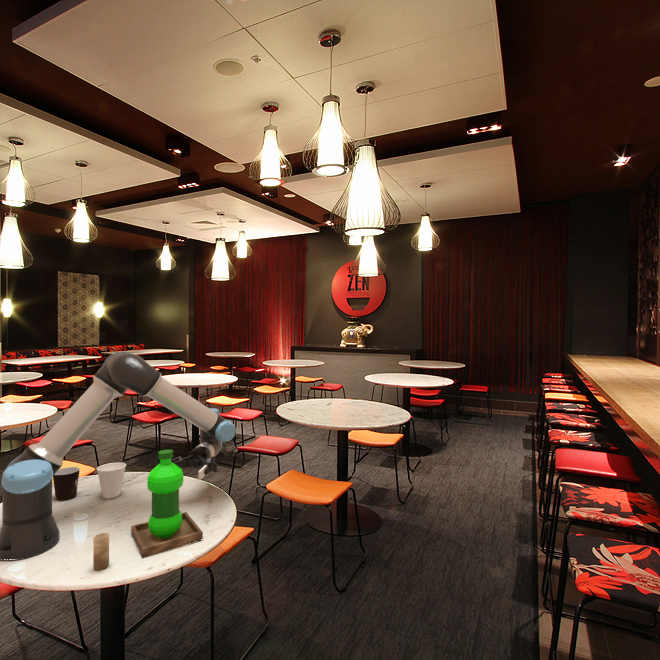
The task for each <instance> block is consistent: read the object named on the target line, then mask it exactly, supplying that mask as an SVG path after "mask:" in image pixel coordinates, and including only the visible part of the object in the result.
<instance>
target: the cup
mask: <svg viewBox="0 0 660 660" xmlns="http://www.w3.org/2000/svg"><path fill="white" fill-rule="evenodd" d="M126 467H127V463H125V462H111V463H110V462H109V463H106V464H102V465H100V466H97V467H96V471H97V474H98V481H99V485H100V490H101V491H100V492H101V495H102V498H104V499H106V500H107V499H110V500H111V499H115V498H117V497H119V496H120V495H121V494H122V488H123V484H124V483H123V482H124V478H125V472H126Z"/></svg>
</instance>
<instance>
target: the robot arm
mask: <svg viewBox="0 0 660 660" xmlns="http://www.w3.org/2000/svg"><path fill="white" fill-rule="evenodd" d="M92 377H93V382H92V384H91V385H89V387H88V388H87V389H86V390H85V392H84V393H83V394H81V396H80V397H79V398H78V399H77V400H76V402H75V403H73V405H71V407H70V408H69V409H68V410H67V411H66V413H64V415H63V416H62V417H60V419H59V420H58V421H57V423H55V424H54V426H53V427H52V428H51V429H50V430H49V431H47V433H46V434H45V435H44V437H43V438H42V439H41V440H40V441H39V442H38V443H33V444H30V445H29V446H28V447H27V448H26V449H25V450H24V451H23V452H22V453H21V454H20V455H18V456H17V457H16V458H14V459H12V461H11V462H9V464H8V465H7V467H6V468H5V469H4V471H3V473H2V478H1V487H2V488H1V489H2V494H1V495H2V496H1V497H2V501H1V505H2V514H1V515H2V517H1V520H2V525H1V528H0V559H6V560H7V559H8V560H9V559H19V560H23V559H22V558H24V559H28V558H31V557H33V556H34V555H35V556H37V555H40V554H43V553H44V552H46V551H48V550H50V549H51V548H53V547H55V546H56V545H57V544H58V543H59V541H60V530H59V527H58V525H57V522H56V520H55V518H54V515H53V476H54V474H55V473H56V472H57V471H58V470H59V469H61V468H62V467H63V465H64V459H63V458H64V457H65V456H66V454H67V453H68V452H69V451H70V450H71V449H72V447H73V446H75V444H76V443H77V442H78V441H79V439H80V438H81V437H83V435H84V434H85V432H87V431H88V429H89V428H90V427H91V426H92V425H93V424H94V422H95V421H96V420H97V419H98V418H99V416H100V415H101V414H102V413H103V412H104V410H106V409H107V407H109V405H110V404H111V403H112V402H113V400H114V399H115V398H119V397H123V396H124V395H125V393H126V392H128V390H129V391H131V392H134V393H136V394H138V395H139V396H140V397H142V398H144V397H148V398H150V399H152V400H153V401H155V402H157V403H158V404H160V405H162V406H163V407H165V408H166V409H168V410H169V411H171V412H173V413H174V414H176V415H177V416H179V417H181V418H183V419H184V420H186V421H188V422H189V423H190V424H192V425H194V426H195V427H197V428H198V429H199V445H197V446H196V447H194V448H193V449H192V450H191V451H190V452H189V454H188V456H186V457H182V456H180V455H179V456H177V457H175V458H171V462H172V463H174V464H175V465H177V466H178V467H179V468H181V469H188V468H194V469H199V470H198V475H197V478H198V479H197V480H198V481H201V480H202V479H203V478H204V477H205V476H206V475H209V474H210V473H212V472H213V473H217V472H218V463H217V462H216V456H217V455H219V454H220V451H222V449H223V443H225V442H226V443H227V442H229V441H231V440H233V438H234V437H235V436H236V431H237V429H236V425H235V424H234V423H233V422H232V421H230V420H227V419H226V418H224V417H222V416H221V414H220V409H218V408H214V407H211V408H210V407H207V406H206V405H205V404H203V403H201V401H198V400H197V399H196V398H194V397H193V396H191V395H190V394H187V392H185V391H183V390H181V388H179V387H177V386H175V384H173V383H171V382H170V381H168V380H166V379H165V378H163V375H162V373H161V372H160V371H159V370H157V369H156V368H154V367H153V366H152V365H151V364H149V363H148V362H147V361H146V360H145V359H144V358H142V357H141V356H139V355H138V354H135V353H131V352H129V351H128V352H127V351H118V352H115V353H113V354H110V355H108V357H106V359H105V360H104V362H103V364H102V365H101V367H100V368H99V369H98V370H97V372H96V373H94V375H93V376H92ZM30 556H31V557H30ZM27 557H28V558H27ZM6 560H5V561H6ZM9 561H10V560H9Z"/></svg>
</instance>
